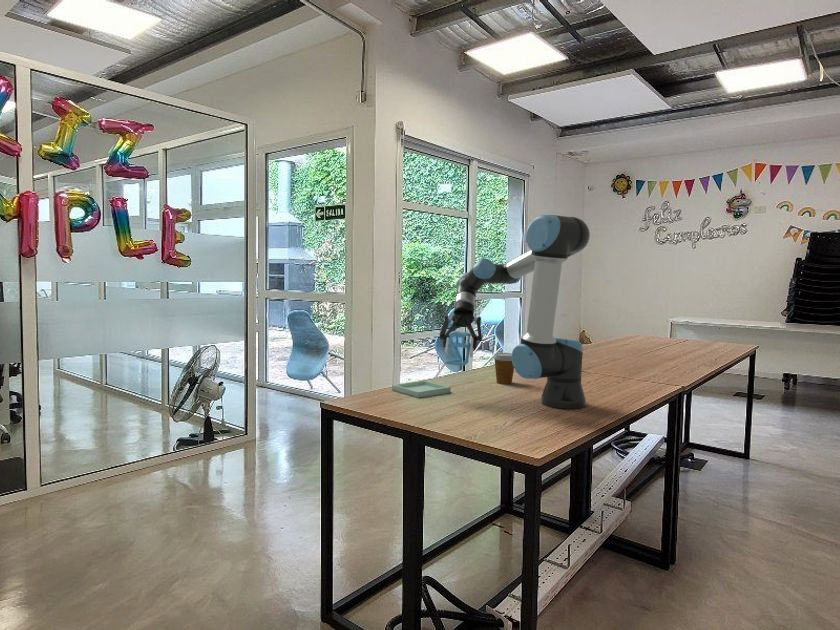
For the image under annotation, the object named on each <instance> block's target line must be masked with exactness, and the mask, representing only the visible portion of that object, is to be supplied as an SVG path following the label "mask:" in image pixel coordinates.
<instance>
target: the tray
mask: <svg viewBox="0 0 840 630" xmlns="http://www.w3.org/2000/svg"><path fill="white" fill-rule="evenodd" d="M451 388H452V387H451V386H450V385H449V386H448V385H444V384H441V383H436V382H434V381H428V380H425V379H423V380H417V381H409V382H402V383H396V384H391V391H393V392H397V393H399V394H403V393H404V395H406V394H407V396H409V397H410V396H411V397H414V398H416V399H419V398H426V397H430V396H431V397H432V396H437V395H443V394H449V393H451V390H452V389H451Z"/></svg>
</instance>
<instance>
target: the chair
mask: <svg viewBox="0 0 840 630" xmlns="http://www.w3.org/2000/svg"><path fill="white" fill-rule="evenodd" d="M449 337H450V338H449V341H450V343H449V344H448V346H449V348H450V347H452V348H453V349H454V350H455V353H456V356H457V357H458V359H449V360H445V363H444V364H446V365H454V366H466V365H467V364H468V363H469V357H470V346H471V338H472V336H471V334H470V332H468V331H464V332H463V331H459V330H455V331H453V332H451V333H450V334H449ZM453 337H455V342H453ZM466 337H467V340H466V343H465V338H466ZM459 338H461V342H459ZM459 348H463V349H464V348H466V354H465V360H463V358H462V356H461V353H460V351H459Z"/></svg>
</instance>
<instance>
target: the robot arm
mask: <svg viewBox="0 0 840 630" xmlns="http://www.w3.org/2000/svg"><path fill="white" fill-rule="evenodd" d="M590 236H591V234H590V229H589V227H588V225H587V223H586V222H585V221H584V220H583V219H581V218H579V217H575V216H565V215H556V214H542V215H538V216H536V217H535V218H534V219H533V220H531V222H530V223H529V225H528V226H527V229H526V233H525V243H527V247H528V248H529V250H528V251H526V252H524V253H522V254H520V255H519V256H518V255H517V256H516V257H514V258H512V259H510V260H508V261H507V262H505V263H503V264H501V263H499V264H497V263H494V262H493V261H492V260H491V259H488V258H486V257H485V258H480V259H479V260H477V262H476V263H475V264H473V266H472V268H471V269H469V271H468V272H465V273H462V274H460V275H459V277H458V281H457V286H456V287H457V288H456V289H457V290H456V295H455V300H454V310H453V315H452V316H448V315H444V322H443V324H442V327H441V329H440V331H439V334H438V335H439V340H440V341H443V342H442V345H443V348H444V354H445V357H448V355H449V350H450V349H449V348H450V346H448V344H450V337H449V334H450V333H451V332H453V331H457V330H458V328H467V330H468V333H469V334H471V337H470V344H471V346H470V352H469V357H470V358H473V353H474V349H475V350H476V349H477V347H478V346H477V344H478V342H482V341H483V333H482V327H481V324H482V316H478V317H475V305H476V297H477V296H476V295H477V293H478V291H479V290H480V289H481V288H482V287H483V286H484V285H486V284H490V285H491V284H495V285H496V284H500V285H501V284H503V285H504V284H506V285H512V284H517V283H519V282H520V280H521V279H522V277H524V276H526V275H528V274H530V273H533V275H532V284H531V285H532V286H531V294H530V301H529V308H528V316H527V317H528V318H527V325H526V332H525V333H523V334H522V335H521V337H520V343H519V344H517V345H516V346H515V347H513V349H512V351H511V353H512V364H513V367H514V370H515V372H516V373H517V374H518V375H519V376H520V377H521V378H523V379H526V380H530V379H531V380H537V379H540V378H542V379H543V378H546V382H545V386H544V388H543V392H542V394H541V397H540V398H541V401H540V403H541V404H542V405H544V406H547V407H552V408H556V409H563V410H564V409H565V410H569V409H570V410H571V409H573V410H575V409H582V408H584V406H585V405H586V404H587V403H586V402H587V400H586V397H585V392H584V388H583V385H582V373H583V371H582V370H583V369H582V368H583V354H584V353H583V344H582V342H581V341H579V340H574V339H566V338H558V337H554V327H555V321H556V319H555V318H556V311H557V306H558V305H557V304H558V296H559V289H560V283H561V282H560V281H561V273H562V266H563V263H564V262H566V261H567V260H568V258H569V257H571V256H574V255H576V254H577V253H579V252H581V251H583V250H584V249H585V248H586V247H587V245H588V244H589V241H590ZM451 321H453V322H452V324H451V326H450V327H449V325H450V323H451ZM474 322H475V324H476V328H477V334H478V335H477V334H476V332H475V330H474V327H473V326H472V323H474ZM447 329H448V330H447ZM586 406H587V405H586ZM586 406H585V407H586Z"/></svg>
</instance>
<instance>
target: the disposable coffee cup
mask: <svg viewBox="0 0 840 630" xmlns="http://www.w3.org/2000/svg"><path fill="white" fill-rule="evenodd" d="M492 358H493V360H494V367H495V369H494V370H495V371H494V372H495V377H496V380H495V381H496V384H500V385H510V384H513V377H514V370H515V368H514V367H513V364H512V352H511V353H510V352H496V353H494V355H493V356H492Z"/></svg>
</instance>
